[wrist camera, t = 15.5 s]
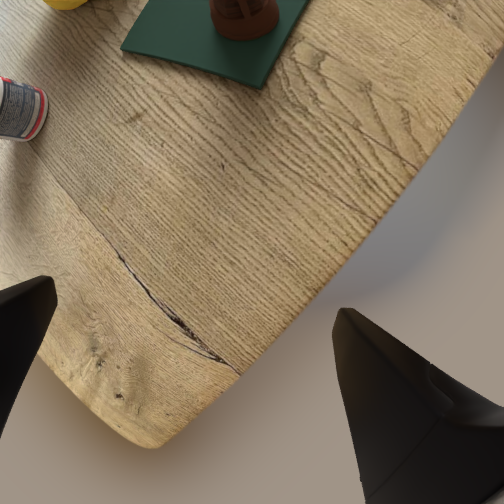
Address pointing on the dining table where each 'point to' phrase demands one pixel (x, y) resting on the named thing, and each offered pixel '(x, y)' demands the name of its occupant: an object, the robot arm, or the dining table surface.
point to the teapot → (64, 4)
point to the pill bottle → (21, 110)
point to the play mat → (209, 40)
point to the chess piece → (244, 18)
